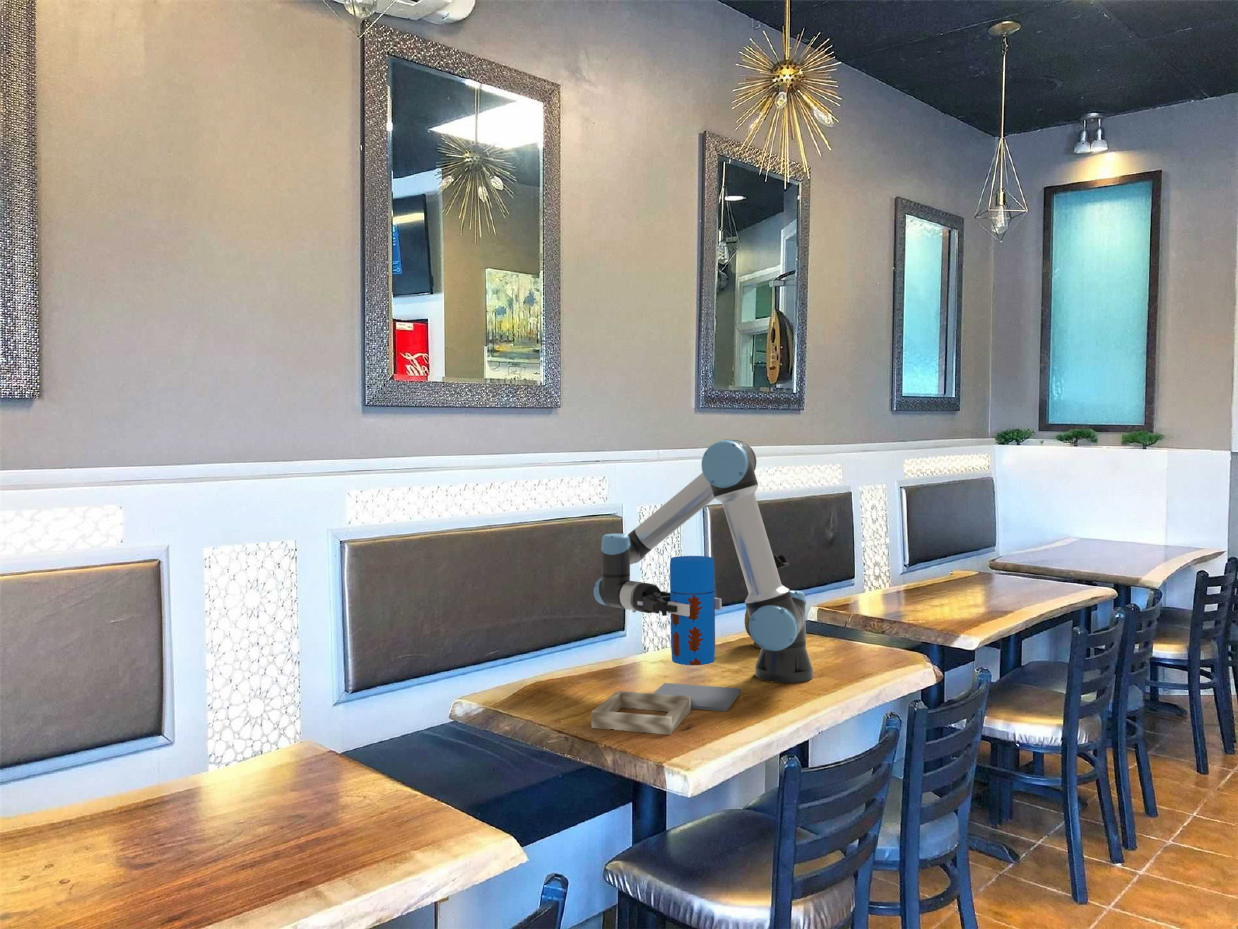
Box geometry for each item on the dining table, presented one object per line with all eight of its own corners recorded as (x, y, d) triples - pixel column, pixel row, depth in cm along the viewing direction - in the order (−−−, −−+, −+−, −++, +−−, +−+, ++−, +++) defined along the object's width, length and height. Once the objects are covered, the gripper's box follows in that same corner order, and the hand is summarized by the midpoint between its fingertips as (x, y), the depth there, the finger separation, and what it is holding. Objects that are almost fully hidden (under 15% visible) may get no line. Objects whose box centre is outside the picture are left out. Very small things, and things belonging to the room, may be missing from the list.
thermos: (717, 665, 219) (715, 560, 218) (672, 665, 219) (670, 561, 219) (713, 655, 230) (711, 555, 229) (670, 655, 230) (669, 555, 230)
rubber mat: (741, 691, 230) (741, 688, 230) (726, 711, 213) (726, 708, 213) (664, 686, 236) (664, 683, 236) (644, 705, 219) (644, 701, 219)
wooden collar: (690, 711, 214) (690, 696, 214) (670, 734, 197) (670, 718, 197) (617, 705, 219) (617, 691, 219) (591, 727, 202) (591, 712, 202)
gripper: (672, 605, 245) (736, 616, 229) (608, 617, 230) (671, 629, 213) (672, 577, 245) (736, 586, 229) (607, 587, 229) (671, 597, 213)
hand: (704, 607), depth 221 cm, fingers closed on thermos, 11 cm apart
